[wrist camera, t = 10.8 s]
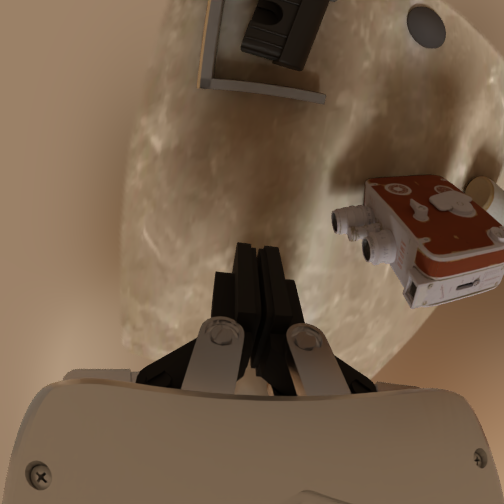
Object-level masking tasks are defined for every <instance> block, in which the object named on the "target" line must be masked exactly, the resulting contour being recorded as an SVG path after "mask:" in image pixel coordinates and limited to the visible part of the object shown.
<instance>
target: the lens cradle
mask: <svg viewBox="0 0 504 504" xmlns="http://www.w3.org/2000/svg"><path fill="white" fill-rule="evenodd" d="M330 1H333V2H335V1H337V0H330ZM223 5H224V0H208V5H207V12H206V18H205V25H204V32H203V39H202V47H201V55H200V63H199V72H198V81H197V88H203V89H218V90H230V91H241V92H250V93H258V94H266V95H273V96H280V97H286V98H292V99H298V100H304V101H309V102H314V103H319V104H324V103H325V98H326V95H324V94H321V93H318V92H313V91H308V90H302V89H297V88H291V87H285V86H279V85H272V84H265V83H258V82H249V81H240V80H229V79H217V78H214V70H215V61H216V54H217V46H218V39H219V32H220V25H221V18H222V12H223Z"/></svg>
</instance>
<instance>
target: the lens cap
mask: <svg viewBox="0 0 504 504" xmlns="http://www.w3.org/2000/svg"><path fill="white" fill-rule="evenodd" d="M407 26H408V29H409V32H410V34H411V35H412V37H413V38H414V40H415V41H416V42H417V43H419V44H420V45H422V46H424V47H426V48H438V47H440V46H441V45H442V44H443V43H444V41H445V37H446V30H445V26H444V24H443V21H442V20H441V18H440V17H439V16H438V15H437V14H436V13H435V12H434V11H433V10H431V9H429V8H426V7H417V8H414V9H412V10H411V11H410V12H409V14H408V17H407Z"/></svg>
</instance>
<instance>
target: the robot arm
mask: <svg viewBox="0 0 504 504" xmlns="http://www.w3.org/2000/svg"><path fill="white" fill-rule="evenodd" d="M2 504H504V498H503V493H502V489H501V484H500V480H499V476H498V473H497V469H496V466H495V463H494V460H493V456H492V453H491V450H490V447H489V444H488V442H487V439H486V436H485V434H484V431H483V429H482V426H481V424H480V422H479V420H478V418H477V416H476V414H475V412H474V410H473V408H472V407H471V405H470V404H469V402H468V401H467V400H466V399H465V398H464V397H463V396H461V395H459V394H457V393H455V392H452V391H448V390H443V389H435V388H419V387H416V386H407V385H399V384H391V383H384V382H376V384H373V382H372V381H371V380H370V379H368V378H367V377H366V376H364V375H363V374H361V373H360V372H358V371H357V370H355V369H354V368H352V367H351V366H349V365H348V364H346V363H345V362H343V361H342V360H340V359H339V358H338V357H336V356H335V355H334V354H333V352H332V350H331V347H330V345H329V343H328V341H327V339H326V337H325V335H324V334H323V332H322V331H321V330H320V329H318V328H317V327H315V326H313V325H310V324H307V323H305V322H304V318H303V314H302V309H301V305H300V301H299V297H298V293H297V289H296V284H295V281H294V280H288V279H285V276H284V272H283V267H282V262H281V257H280V253H279V248H278V247H272V246H264V249H259V251H258V255H257V257H256V248H251V244H247V243H239V242H238V243H237V247H236V253H235V259H234V265H233V271H232V273H224V272H216V273H215V281H214V290H213V299H212V310H211V318H210V319H207V320H206V321H205V322H204V323H203V324H202V326H201V327H200V331H199V334H198V337H197V338H196V339H194V340H192V341H190V342H189V343H187V344H185V345H183V346H182V347H180V348H178V349H177V350H175V351H173V352H171V353H169V354H168V355H166V356H164V357H162V358H161V359H159V360H157V361H155V362H153V363H152V364H150V365H148V366H146V367H145V368H143V369H142V370H141V371H140V372H131V370H130V369H75V370H72V371H70V372H68V373H67V374H66V375H65V376H64V378H63V381H59V382H55V383H52V384H49V385H47V386H46V387H44V388H42V389H41V390H40V391H39V392H38V393H37V394H36V396H35V397H34V399H33V400H32V402H31V403H30V405H29V407H28V409H27V411H26V413H25V416H24V418H23V420H22V423H21V425H20V428H19V431H18V434H17V437H16V441H15V444H14V447H13V451H12V454H11V458H10V463H9V467H8V472H7V477H6V482H5V488H4V494H3V501H2Z"/></svg>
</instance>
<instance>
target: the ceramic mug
mask: <svg viewBox="0 0 504 504" xmlns="http://www.w3.org/2000/svg"><path fill="white" fill-rule="evenodd" d="M465 194H466V195H467V196H470V197H471V198H472V200H473V201H475V202H476V203H477V204H478V205H479V206H481V207H482V208H483V209H484V210H485V211H487V212H488V213H489V214H490V215H491V216H492V217H493V218H495V219H496V220H497V221H498V222H499V223H500V224H501V225H502V226H503V227H504V191H503V190H502V189H501V188H500V187H499V186H498V185H497V184H496V183H495V182H494V181H492V180H491V179H489V178H487V177H484V176H480V177H476V178H475V179H473V180H472V181H471V182H470V183H469V184H468V186H467V188H466V190H465Z"/></svg>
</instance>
